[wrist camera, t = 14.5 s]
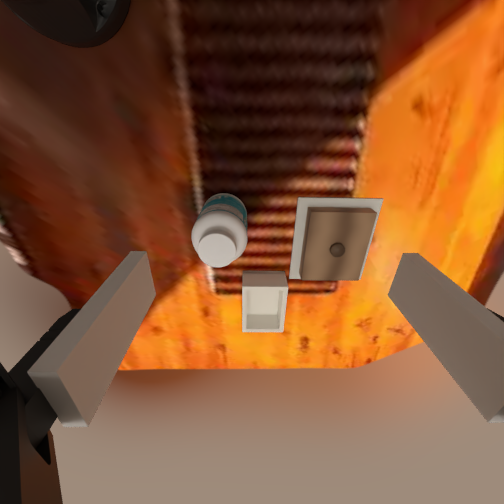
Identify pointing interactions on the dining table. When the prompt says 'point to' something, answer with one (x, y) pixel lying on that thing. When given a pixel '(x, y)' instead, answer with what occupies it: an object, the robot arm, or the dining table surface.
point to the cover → (335, 242)
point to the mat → (324, 202)
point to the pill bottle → (220, 230)
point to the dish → (264, 301)
